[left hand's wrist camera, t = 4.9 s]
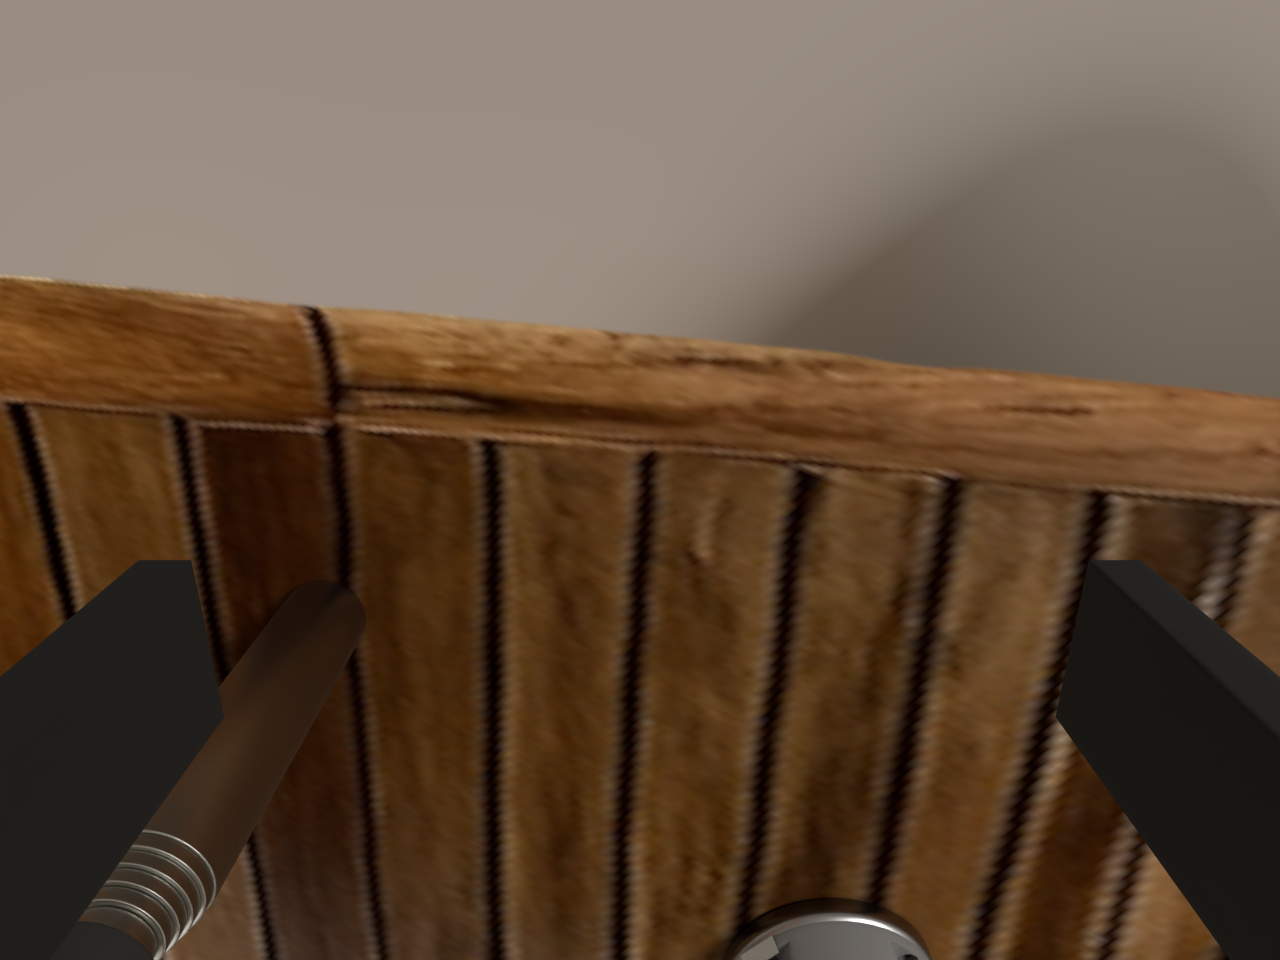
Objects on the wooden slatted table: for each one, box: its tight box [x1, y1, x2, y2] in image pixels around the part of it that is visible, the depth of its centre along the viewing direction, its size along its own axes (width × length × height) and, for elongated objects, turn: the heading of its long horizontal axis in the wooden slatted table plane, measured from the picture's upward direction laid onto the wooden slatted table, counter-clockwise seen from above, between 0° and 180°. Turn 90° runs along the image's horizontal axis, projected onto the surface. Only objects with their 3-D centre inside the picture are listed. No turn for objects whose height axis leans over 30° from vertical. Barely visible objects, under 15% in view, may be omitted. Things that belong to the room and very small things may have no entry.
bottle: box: [78, 581, 366, 960], centre depth 40 cm, size 5×5×25 cm
